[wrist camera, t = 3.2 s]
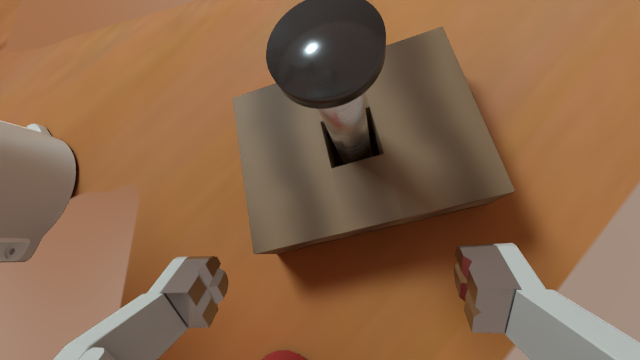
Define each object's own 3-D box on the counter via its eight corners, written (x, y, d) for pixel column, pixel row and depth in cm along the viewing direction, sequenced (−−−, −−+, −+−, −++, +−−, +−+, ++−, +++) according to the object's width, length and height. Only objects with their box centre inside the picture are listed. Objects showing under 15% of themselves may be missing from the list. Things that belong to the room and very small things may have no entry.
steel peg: (336, 190, 27) (276, 113, 12) (324, 139, 29) (258, 18, 14) (392, 175, 26) (402, 73, 11) (376, 124, 28) (367, -24, 13)
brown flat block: (276, 253, 27) (253, 254, 22) (255, 121, 31) (232, 98, 27) (489, 203, 24) (515, 191, 19) (432, 64, 28) (442, 26, 24)
